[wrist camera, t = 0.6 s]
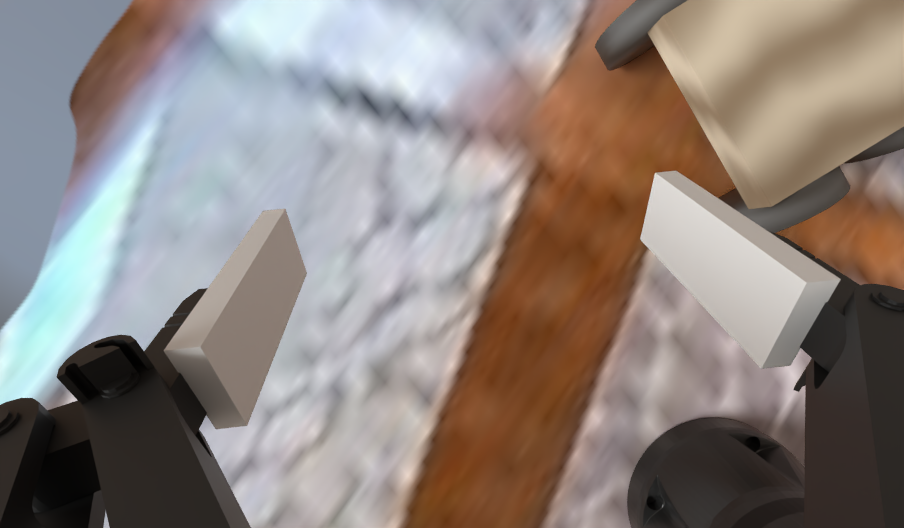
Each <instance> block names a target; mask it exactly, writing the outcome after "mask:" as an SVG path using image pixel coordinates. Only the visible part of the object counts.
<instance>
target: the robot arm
mask: <svg viewBox="0 0 904 528" xmlns="http://www.w3.org/2000/svg"><path fill="white" fill-rule="evenodd" d="M640 240H641V241H642V242H643V243H644V244H645V245H646V246H647V247H648V248H649V249H650V250H651V251H652V252H653V254H654V255H655V256H656V257H657V258H658V259H659V260H660V261H661V262H662V263H663V264H664V265H665V266H666V267H667V269H668V270H669V271H670V272H671V273H672V274H673V275H674V276H675V277H676V278H677V279H678V280H679V281H680V282H681V283H682V285H683V286H684V287H685V288H686V289H687V290H688V291H689V292H690V293H691V294H692V295H693V296H694V297H695V298H696V300H697V301H698V302H699V303H700V304H701V305H702V306H703V307H704V308H705V309H706V310H707V311H708V312H709V313H710V314H711V316H712V317H713V318H714V319H715V320H716V321H717V322H718V323H719V324H720V325H721V326H722V327H723V328H724V329H725V331H726V332H727V333H728V334H729V335H730V336H731V337H732V338H733V339H734V340H735V341H736V342H737V343H738V344H739V345H740V347H741V348H742V349H743V350H744V351H745V352H746V353H747V354H748V355H749V356H750V357H751V358H752V359H753V360H754V362H755V363H756V364H757V365H758V366H759V367H760V368H761V369H763V368H773V367H782V366H790V365H791V363H792V362H793V360H794V358H795V357H796V355H797V353H798V351H799V350H800V348H801V349H803V350H804V351H805V352H806V353H807V354H808V355H809V356H810V357H811V358H812V359H811V361H810V362H809V364H808V366H807V367H806V369H805V370H804V372H803V374H802V375H801V377H800V379H799V380H798V382H797V383H796V385H795V387H794V390H796V391H798V392H799V391H800V389H801V387H802V386H805V385H806V403H805V468H804V467H803V466H802V464H801V463H800V462H799V461H798V460H797V459H796V457H795V456H794V455H793V454H792V453H791V452H789V451H788V450H787V449H786V448H785V447H783V446H782V445H781V444H780V443H778V442H777V441H775V440H774V439H772V438H770V437H769V436H767V435H765V434H764V433H762V432H760V431H759V430H757V429H755V428H754V427H752V426H749V425H747V424H745V423H742V422H739V421H735V420H731V419H725V418H704V419H698V420H693V421H690V422H686V423H684V424H681V425H679V426H677V427H675V428H673V429H671V430H669V431H668V432H666V433H665V434H663V435H662V436H660V437H659V438H658V439H657V440H656V441H655V442H653V444H652V445H651V446H650V447H649V448H648V449H647V450H646V451H645V453H644V454H643V455H642V457H641V458H640V460H639V462H638V463H637V465H636V467H635V470H634V472H633V475H632V477H631V481H630V484H629V490H628V501H627V505H628V515H629V520H630V524H631V527H632V528H904V290H901V289H898V288H894V287H891V286H885V285H879V284H863V285H861V286H860V285H859V284H857V283H856V282H854V281H852V280H851V279H849V278H848V277H846V276H845V275H843V274H842V273H840V272H839V271H837V270H835V269H834V268H832V267H831V266H829V265H828V264H826V263H825V262H823V261H821V260H820V259H818V258H817V259H815V256H814V255H812V254H811V253H809V252H807V251H806V250H802V248H801V247H800V246H798V245H797V244H795V243H794V242H792V241H790V240H789V239H787V238H785V237H783V236H780V235H777V234H775V233H772V232H770V231H767V230H765V229H764V228H762V227H761V226H759V225H758V224H756V223H755V222H753V221H752V220H750V219H749V218H747V217H746V216H744V215H743V214H741V213H740V212H738V211H736V210H735V209H733V208H732V207H730V206H729V205H727V204H726V203H724V202H723V201H721V200H720V199H718V198H717V197H715V196H714V195H712V194H711V193H709V192H708V191H706V190H705V189H703V188H702V187H700V186H699V185H697V184H696V183H694V182H692V181H691V180H689V179H688V178H686V177H685V176H683V175H682V174H680V173H679V172H677V171H669V172H658V173H655V176H654V180H653V185H652V189H651V194H650V198H649V203H648V207H647V212H646V216H645V220H644V225H643V229H642V234H641V238H640ZM306 274H307V272H306V269H305V266H304V263H303V260H302V257H301V254H300V251H299V248H298V245H297V242H296V239H295V236H294V233H293V230H292V227H291V224H290V221H289V218H288V215H287V212H286V209H278V210H267V211H263V212H262V213H261V215H260V216H259V217H258V219H257V220H256V222H255V223H254V224H253V226H252V227H251V229H250V230H249V231H248V233H247V234H246V236H245V237H244V238H243V240H242V241H241V243H240V244H239V245H238V247H237V248H236V250H235V251H234V252H233V254H232V255H231V257H230V258H229V260H228V261H227V262H226V264H225V265H224V267H223V268H222V269H221V271H220V272H219V274H218V275H217V276H216V278H215V279H214V281H213V282H212V283H211V285H210V286H209V288H206V289H198V290H197V291H196V292H194V293H193V294H192V295H190V296H189V297H188V298H186V299H185V300H184V301H183V302H182V303H181V304H180V305H179V307H178V308H177V309H176V311H175V312H174V313H173V317H170V319H169V320H168V321H167V322H166V324H165V328H162V329H161V330H160V332H159V333H158V334H157V336H156V337H155V338H154V339H153V341H152V342H151V343H150V345H149V346H148V347H147V349H146V350H145V351H143V350H142V348H141V347H140V346H139V344H138V343H137V341H136V340H135V339H134V338H132V337H131V336H127V335H117V336H111V337H106V338H104V339H101V340H98V341H95V342H93V343H91V344H89V345H87V346H85V347H84V348H82V349H80V350H78V351H77V352H76V353H74V354H73V355H72V356H70V357H69V358H68V359H67V360H66V361H65V362H64V363H63V364H62V366H61V367H60V368H59V370H58V374H57V378H58V379H59V380H60V381H61V383H62V384H63V385H64V386H65V387H66V388H67V389H68V390H69V391H70V392H71V393H72V394H73V395H74V397H75V398H76V399H77V400H78V401H75V402H72V403H69V404H66V405H63V406H60V407H57V408H54V409H51V410H48V411H47V410H46V409H45V408H44V407H43V406H42V405H41V404H40V403H39V402H38V401H36V400H35V399H33V398H20V399H16V400H13V401H9V402H6V403H3V404H1V405H0V528H103V525H104V518H105V510H106V513H107V517H108V522H109V526H110V528H251V527H250V525H249V523H248V521H247V519H246V517H245V515H244V513H243V512H242V510H241V508H240V506H239V504H238V502H237V500H236V498H235V496H234V494H233V492H232V490H231V488H230V486H229V484H228V482H227V480H226V478H225V476H224V474H223V473H222V471H221V469H220V467H219V465H218V463H217V461H216V459H215V457H214V455H213V453H212V451H211V449H210V447H209V445H208V443H207V441H206V439H205V437H204V436H203V434H202V433H201V432H200V430H199V428H200V426H201V424H202V422H203V420H204V418H205V416H206V415H207V416H208V418H209V419H210V421H211V422H212V424H213V425H214V427H215V428H216V429H222V428H231V427H240V426H247V425H248V422H249V419H250V417H251V414H252V412H253V409H254V407H255V404H256V402H257V399H258V396H259V394H260V391H261V389H262V386H263V384H264V381H265V379H266V376H267V374H268V371H269V368H270V366H271V363H272V361H273V358H274V356H275V353H276V351H277V348H278V346H279V343H280V340H281V338H282V335H283V333H284V330H285V328H286V325H287V323H288V320H289V317H290V315H291V312H292V310H293V307H294V305H295V302H296V300H297V297H298V295H299V292H300V289H301V287H302V284H303V282H304V279H305V277H306Z"/></svg>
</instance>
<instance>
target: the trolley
mask: <svg viewBox="0 0 904 528" xmlns="http://www.w3.org/2000/svg"><path fill="white" fill-rule="evenodd" d="M653 46H655V47H656V48H657V50H658V52H659V54H660V55H661V57H662V59H663V61H664V62H665V64H666V66H667V68H668V69H669V71H670V73H671V75H672V76H673V78H674V80H675V82H676V83H677V85H678V87H679V89H680V90H681V92H682V94H683V96H684V97H685V99H686V101H687V103H688V104H689V106H690V108H691V110H692V111H693V113H694V115H695V117H696V118H697V120H698V122H699V123H700V125H701V127H702V129H703V130H704V132H705V134H706V136H707V137H708V139H709V141H710V143H711V144H712V146H713V148H714V150H715V151H716V153H717V155H718V157H719V158H720V160H721V162H722V164H723V165H724V167H725V169H726V171H727V172H728V174H729V176H730V178H731V179H732V181H733V183H734V185H735V186H736V189H734V190H732V191H730V192H728V193H726V194H724V195H723V196H721V197H719V198H718V199H720V200H721V201H723V202H724V203H726V204H727V205H729V206H730V207H732V208H733V209H735V210H736V211H738V212H740V213H741V214H743V215H744V216H746V217H747V218H749V219H750V220H752V221H753V222H755V223H756V224H758V225H759V226H761V227H762V228H764V229H765V230H767V231H770V232H772V233H775V232H778V231H781V230H784V229H786V228H789V227H791V226H793V225H796V224H798V223H800V222H803V221H805V220H807V219H809V218H811V217H813V216H815V215H817V214H819V213H821V212H822V211H824V210H826V209H828V208H829V207H831V206H832V205H834V204H835V203H837V202H838V201H839V200H841V199H842V198H843V197H844V196H845V195H846V194H847V193H848V191H849V189H850V185H849V183H848V181H847V179H846V178H845V176H844V174H843V172H842V170H841V169H840V167H839V165H841V164H844V163H852V162H858V161H862V160H866V159H870V158H874V157H878V156H881V155H885V154H888V153H891V152H894V151H897V150H900V149H903V148H904V0H637V1H635V2H634V3H633V4H632V5H631V6H630V7H629V8H627V9H626V10H625V11H624V12H623V13H622V14H621V15H620V16H619V17H618V18H617V19H616V20H615V21H614V22H613V23H612V24H611V25H610V26H609V27H608V28H607V29H606V30H605V32H604V33H603V34H602V35H601V36H600V38H599V39H598V41H597V43H596V45H595V48H596V50H597V52H598V53H599V55H600V57H601V59H602V60H603V62H604V64H605V65H606V67H607V69H608V70H609V71H610V70H614V69H617V68H619V67H621V66H623V65H625V64H626V63H628V62H630V61H632V60H633V59H635V58H637V57H638V56H640V55H641V54H643V53H644V52H646V51H647V50H649V49H650V48H652V47H653Z"/></svg>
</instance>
